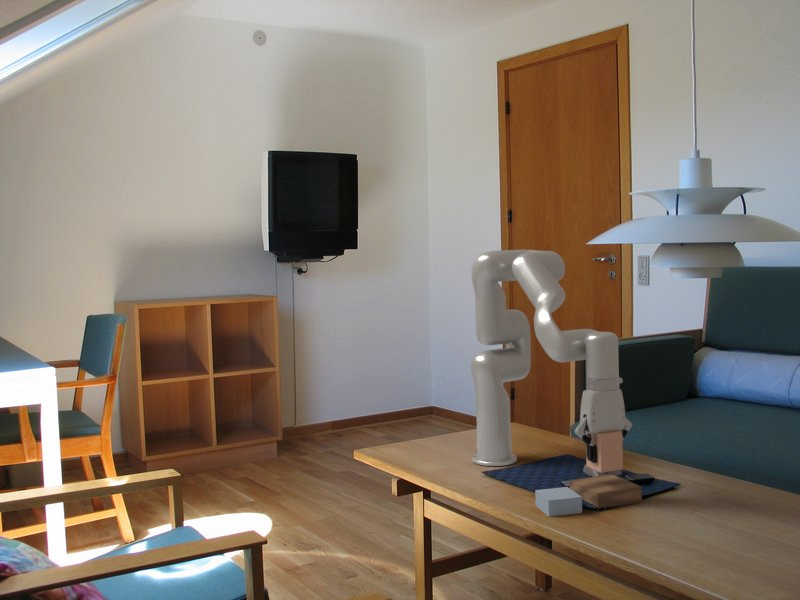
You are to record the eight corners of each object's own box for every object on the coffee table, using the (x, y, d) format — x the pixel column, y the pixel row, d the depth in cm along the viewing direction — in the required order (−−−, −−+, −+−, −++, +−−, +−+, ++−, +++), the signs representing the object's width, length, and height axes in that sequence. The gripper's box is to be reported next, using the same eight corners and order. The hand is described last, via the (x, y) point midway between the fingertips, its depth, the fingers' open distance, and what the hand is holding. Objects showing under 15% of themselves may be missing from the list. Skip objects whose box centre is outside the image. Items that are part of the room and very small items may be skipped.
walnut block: (569, 496, 196) (569, 480, 196) (611, 489, 200) (611, 473, 200) (598, 511, 185) (597, 493, 184) (641, 503, 189) (641, 486, 188)
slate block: (535, 506, 189) (535, 490, 188) (567, 503, 190) (567, 486, 190) (548, 517, 181) (548, 500, 181) (582, 514, 182) (581, 496, 182)
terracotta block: (586, 466, 193) (585, 429, 193) (607, 463, 196) (607, 426, 195) (601, 472, 188) (600, 434, 187) (622, 469, 190) (622, 431, 189)
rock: (600, 482, 205) (600, 467, 205) (577, 472, 215) (577, 457, 215) (630, 478, 208) (629, 462, 208) (606, 468, 218) (605, 453, 218)
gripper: (623, 379, 197) (625, 451, 198) (562, 385, 191) (564, 460, 192) (643, 383, 190) (644, 458, 191) (580, 390, 184) (581, 468, 185)
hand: (604, 458), depth 192 cm, fingers closed on terracotta block, 6 cm apart
